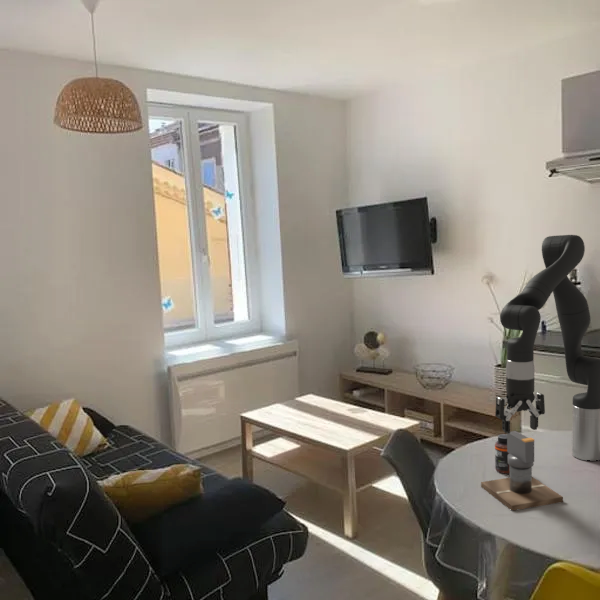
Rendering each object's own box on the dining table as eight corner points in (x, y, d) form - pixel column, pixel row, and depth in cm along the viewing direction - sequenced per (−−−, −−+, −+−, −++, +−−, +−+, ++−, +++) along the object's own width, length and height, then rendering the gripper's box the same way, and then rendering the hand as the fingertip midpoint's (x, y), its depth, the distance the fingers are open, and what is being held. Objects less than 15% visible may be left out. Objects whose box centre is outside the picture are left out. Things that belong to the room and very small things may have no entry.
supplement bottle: (515, 467, 192) (514, 433, 191) (515, 475, 186) (515, 440, 185) (495, 466, 194) (495, 432, 193) (494, 473, 188) (494, 438, 187)
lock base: (528, 479, 183) (528, 450, 182) (562, 501, 168) (563, 471, 167) (481, 486, 180) (480, 458, 178) (511, 510, 164) (511, 479, 163)
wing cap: (500, 459, 176) (500, 431, 175) (522, 456, 178) (521, 428, 177) (518, 471, 167) (518, 441, 166) (540, 467, 169) (540, 438, 168)
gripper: (534, 370, 175) (534, 424, 177) (490, 374, 171) (490, 429, 173) (550, 375, 167) (550, 432, 169) (504, 381, 164) (505, 438, 166)
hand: (520, 430), depth 171 cm, fingers open, 8 cm apart
